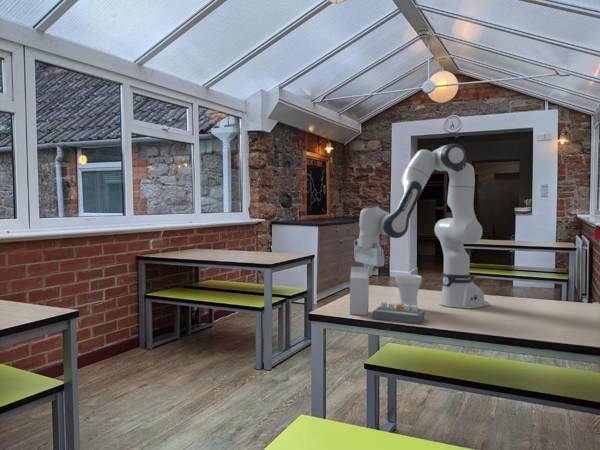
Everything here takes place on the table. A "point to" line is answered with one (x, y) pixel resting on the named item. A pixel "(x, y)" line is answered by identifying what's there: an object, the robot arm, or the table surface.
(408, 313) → the switch box
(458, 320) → the table surface
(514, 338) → the table surface
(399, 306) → the rocker switch
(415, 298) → the cup
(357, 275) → the milk carton
